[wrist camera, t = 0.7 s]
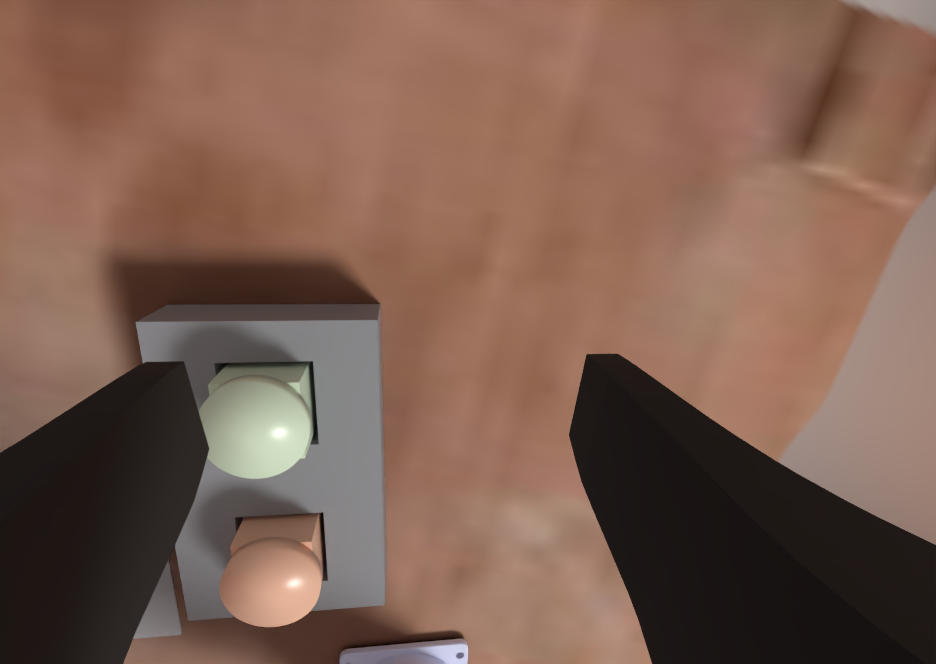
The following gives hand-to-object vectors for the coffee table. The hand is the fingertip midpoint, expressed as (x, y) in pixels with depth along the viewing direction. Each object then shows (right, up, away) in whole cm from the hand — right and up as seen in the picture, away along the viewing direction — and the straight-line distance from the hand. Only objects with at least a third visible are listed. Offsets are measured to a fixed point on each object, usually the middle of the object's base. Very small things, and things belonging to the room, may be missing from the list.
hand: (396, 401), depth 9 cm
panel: (-8, -5, +17) cm, 20 cm away
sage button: (-8, -2, +15) cm, 17 cm away
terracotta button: (-8, -9, +17) cm, 21 cm away
